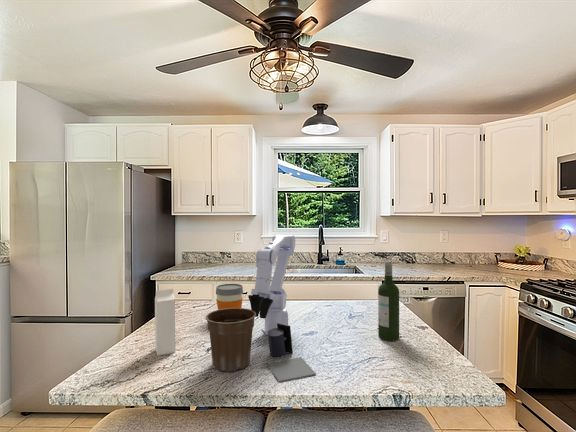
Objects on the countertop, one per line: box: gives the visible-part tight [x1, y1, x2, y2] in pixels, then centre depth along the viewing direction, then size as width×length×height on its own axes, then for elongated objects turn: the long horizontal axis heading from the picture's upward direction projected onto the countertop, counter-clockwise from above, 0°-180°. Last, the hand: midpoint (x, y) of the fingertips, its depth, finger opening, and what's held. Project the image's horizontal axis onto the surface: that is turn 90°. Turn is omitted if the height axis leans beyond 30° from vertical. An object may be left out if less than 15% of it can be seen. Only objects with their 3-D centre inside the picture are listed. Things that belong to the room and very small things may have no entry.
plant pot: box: [205, 307, 256, 373], centre depth 106 cm, size 16×16×16 cm
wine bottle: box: [377, 260, 400, 342], centre depth 127 cm, size 8×8×30 cm
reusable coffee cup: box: [215, 283, 244, 310], centre depth 151 cm, size 12×13×15 cm
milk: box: [154, 288, 176, 357], centre depth 116 cm, size 6×6×22 cm
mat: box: [266, 356, 317, 383], centre depth 102 cm, size 12×12×1 cm
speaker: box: [267, 323, 294, 359], centre depth 113 cm, size 8×6×10 cm
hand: (258, 317), depth 118 cm, fingers open, 7 cm apart
